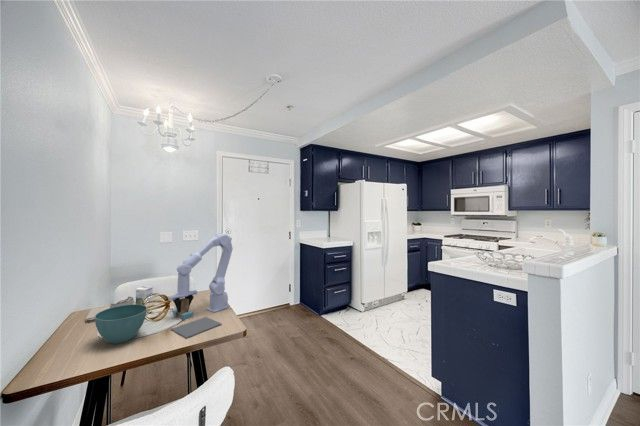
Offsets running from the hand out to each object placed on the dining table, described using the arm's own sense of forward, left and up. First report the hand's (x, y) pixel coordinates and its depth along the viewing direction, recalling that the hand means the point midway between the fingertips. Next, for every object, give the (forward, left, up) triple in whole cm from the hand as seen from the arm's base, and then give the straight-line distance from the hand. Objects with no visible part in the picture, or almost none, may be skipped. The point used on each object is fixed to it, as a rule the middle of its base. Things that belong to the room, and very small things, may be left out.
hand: (183, 310), depth 139 cm
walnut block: (0, 0, -3) cm, 3 cm away
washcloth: (+25, -35, -4) cm, 43 cm away
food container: (+20, -19, -3) cm, 28 cm away
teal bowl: (+29, +4, -3) cm, 29 cm away
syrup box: (+11, -20, -3) cm, 23 cm away
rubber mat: (+3, +19, -3) cm, 19 cm away
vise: (0, -3, -3) cm, 4 cm away
